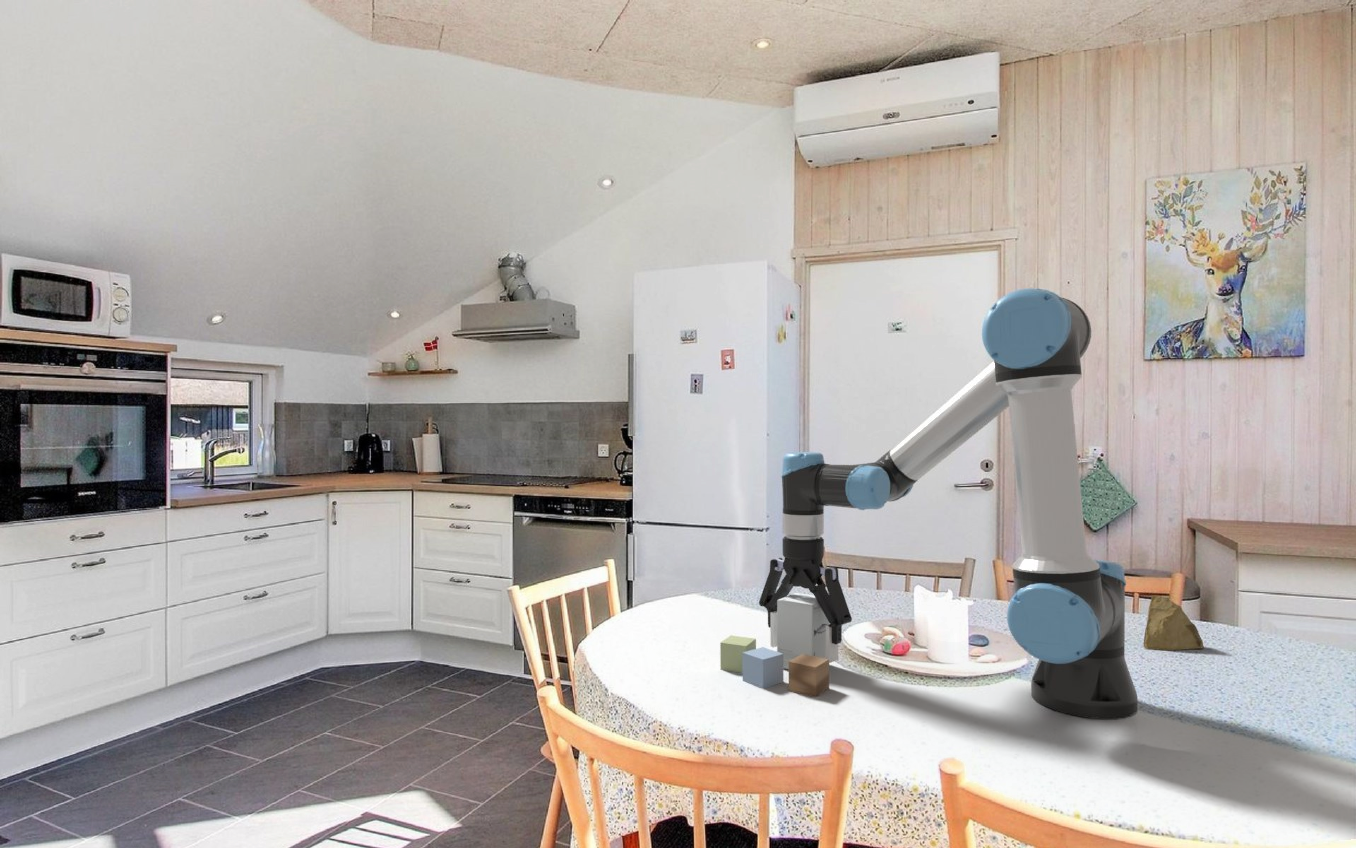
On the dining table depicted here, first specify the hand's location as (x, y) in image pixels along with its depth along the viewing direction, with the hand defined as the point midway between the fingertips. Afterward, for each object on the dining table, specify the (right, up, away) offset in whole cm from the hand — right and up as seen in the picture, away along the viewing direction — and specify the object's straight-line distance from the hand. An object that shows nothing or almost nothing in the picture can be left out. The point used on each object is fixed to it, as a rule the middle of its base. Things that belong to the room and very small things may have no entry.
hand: (803, 653), depth 142 cm
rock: (+75, -2, +10) cm, 75 cm away
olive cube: (-12, -3, 0) cm, 12 cm away
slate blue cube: (-8, -3, -8) cm, 12 cm away
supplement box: (0, -3, 0) cm, 3 cm away
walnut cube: (-1, -3, -12) cm, 12 cm away
